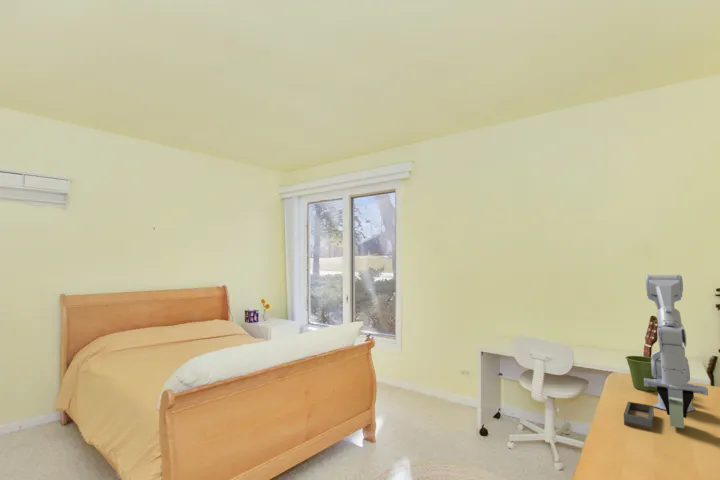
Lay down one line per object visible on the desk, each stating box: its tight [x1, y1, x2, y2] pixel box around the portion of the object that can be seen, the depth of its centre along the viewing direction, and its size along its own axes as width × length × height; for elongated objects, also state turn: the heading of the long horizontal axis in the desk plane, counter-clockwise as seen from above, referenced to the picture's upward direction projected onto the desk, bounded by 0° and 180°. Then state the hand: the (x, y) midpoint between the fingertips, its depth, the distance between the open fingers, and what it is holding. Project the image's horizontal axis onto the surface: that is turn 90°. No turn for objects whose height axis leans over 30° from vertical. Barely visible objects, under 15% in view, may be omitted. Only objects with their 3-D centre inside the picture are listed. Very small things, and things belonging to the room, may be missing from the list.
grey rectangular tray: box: [623, 401, 655, 431], centre depth 118 cm, size 14×7×3 cm, turn 141°
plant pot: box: [624, 355, 660, 392], centre depth 148 cm, size 12×12×11 cm
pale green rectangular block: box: [669, 397, 685, 429], centre depth 113 cm, size 8×3×6 cm, turn 141°
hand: (676, 415), depth 113 cm, fingers closed on pale green rectangular block, 3 cm apart
